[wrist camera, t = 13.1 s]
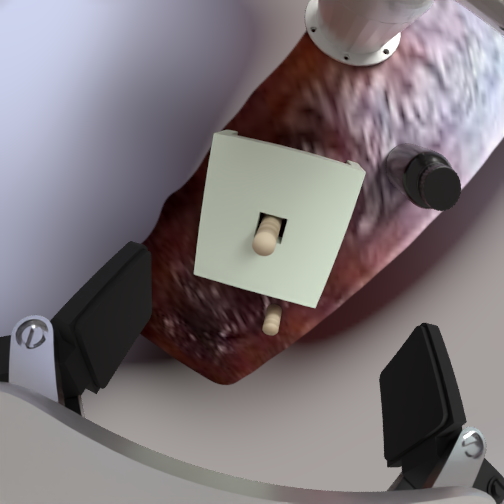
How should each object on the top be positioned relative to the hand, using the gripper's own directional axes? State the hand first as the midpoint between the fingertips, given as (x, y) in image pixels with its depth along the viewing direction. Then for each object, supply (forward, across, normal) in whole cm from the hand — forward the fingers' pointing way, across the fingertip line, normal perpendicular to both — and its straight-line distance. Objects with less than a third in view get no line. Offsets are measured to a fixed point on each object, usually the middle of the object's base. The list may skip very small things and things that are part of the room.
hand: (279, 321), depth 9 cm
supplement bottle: (+32, -14, -2) cm, 35 cm away
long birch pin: (+31, +2, +10) cm, 33 cm away
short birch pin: (+31, -2, +27) cm, 41 cm away
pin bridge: (+31, +2, +10) cm, 33 cm away
